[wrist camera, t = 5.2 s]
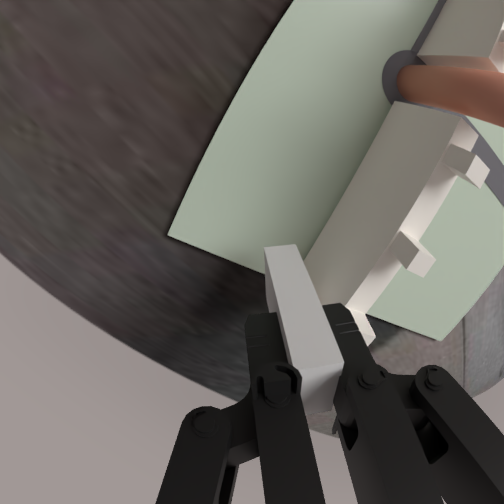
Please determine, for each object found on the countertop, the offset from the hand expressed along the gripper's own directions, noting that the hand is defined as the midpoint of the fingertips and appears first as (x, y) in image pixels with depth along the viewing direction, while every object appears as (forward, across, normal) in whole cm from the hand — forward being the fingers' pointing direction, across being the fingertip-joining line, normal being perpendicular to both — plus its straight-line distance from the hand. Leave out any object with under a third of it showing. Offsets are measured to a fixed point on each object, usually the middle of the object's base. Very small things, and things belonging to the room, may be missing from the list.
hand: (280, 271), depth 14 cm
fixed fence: (+3, +10, +13) cm, 16 cm away
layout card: (+3, +11, +5) cm, 12 cm away
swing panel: (+2, +4, +2) cm, 5 cm away
